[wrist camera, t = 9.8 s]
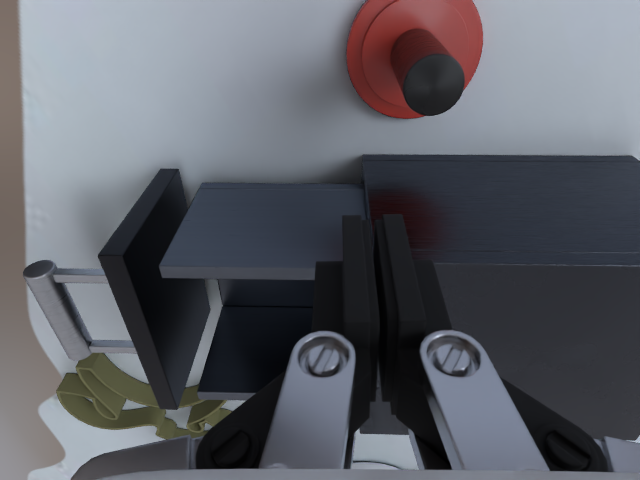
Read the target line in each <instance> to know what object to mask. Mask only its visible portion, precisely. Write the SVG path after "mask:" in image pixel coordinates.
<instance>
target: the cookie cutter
mask: <svg viewBox="0 0 640 480" xmlns="http://www.w3.org/2000/svg"><path fill="white" fill-rule="evenodd" d="M76 371H77V373H78V374H73V373H67V374H66V376H65V377H64V379H63V381H62V382H61V384H60V385H59V387H58V389H57V391H56V393H57V396H58V399H59V401H60V403H61V404H62V406H63V407H64V408H65V409H66V410H67V411H68V412H69V413H70V414H71V415H72V416H74V417H75V418H77V419H78V420H80V421H82V422H84V423H86V424H88V425H91V426H94V427H98V428H102V429H110V430H120V429H129V428H135V427H141V426H155V427H157V431H156V435H157V436H158V437H161V438H164V439H166V440H167V439H171V438H176V437H180V436H185V435H189V434H190V436H191V438H196V437H201V436H204V435H205V434H206V433H207V432H208V431H203V430H204V427H205V423H208V424H210V425H211V426H215V425H216V424H217V423H218V422H220V421H221V420H222V419H224V418H225V417H226V416H227V415H229V414H230V413H231V412H232V411H229V410H226V409H221V408H220V407H222V406H223V405H224V404H225V403H226V401H227V400H206V401H204V400H205V399H199V398H198V394H197V390H198V387H199V385H197V386H193V387H189V388H185V389H184V392H183V395H182V398H181V401H180V404H179V407H178V408H182V407H188V406H192V405H193V406H192V409H191V412H190V416H189V419H188V422H187V426H186V427H187V429H188V430H186V429H180V428H176V427H177V424H176V423H175V422H174V421H173V420H170V419H168V418H165V414H166V410H165V409H160V408H159V406H158V403H157V401H156V399H155V396H154V394H153V391H152V389H151V386H150V385H148V384H145V383H143V382H140V381H138V380H136V379H134V378H132V377H130V376H129V375H127V374H125V373H124V372H122V371H121V370H120V369H118V368H117V367H116V366H115V365H114V364H113V363H112V362H111V361H110V360H109V359H108V358H107V357H106V356H105V355H104V353H92V354H91V355H90V356H88V357H87V358H85V359H82V360H79V362H78V364H77V365H76ZM84 397H86V398H89V399H92V401H93V403H92V402H90V401H88V400H87V399H86V398H84ZM126 399H128V400H131V401H133V402H136V403H139V404H142V405H146V406H151V407H145V408H140V409H134V410H122V408H123V406H124V404H125V401H126ZM202 401H204V402H202ZM200 402H202V403H200ZM198 403H199V404H198ZM195 404H196V405H195Z"/></svg>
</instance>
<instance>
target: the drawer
mask: <svg viewBox="0 0 640 480" xmlns="http://www.w3.org/2000/svg"><path fill="white" fill-rule="evenodd" d="M342 215H361V218H362V220H368V218H367V209H366V200H365V190H364V184H279V183H202V184H201V186H200V188H199V190H198V192H197V194H196V196H195V197H194V199H193V201H192V203H191V205H190V207H189V209H188V208H187V203H186V199H185V194H184V190H183V185H182V181H181V177H180V172H179V169H160V170H159V172H158V173H157V174H156V176H155V177H154V179H153V180H152V181H151V183H150V184H149V185H148V187H147V188H146V190H145V191H144V192H143V194H142V195H141V196H140V198H139V199H138V201H137V202H136V203H135V205H134V206H133V207H132V209H131V210H130V212H129V213H128V214H127V216H126V217H125V219H124V220H123V221H122V223H121V224H120V225H119V227H118V228H117V230H116V231H115V232H114V234H113V235H112V236H111V238H110V239H109V241H108V242H107V243H106V245H105V246H104V248H103V249H102V250H101V252H100V253H99V254H98V258H99V261H100V263H101V266H102V268H103V269H62V268H58V269H57V266H56V264H55V263H54V262H53V261H51V260H41V261H37V262H35V263H32V264H31V265H29V266H28V267H26V268H25V270H24V271H23V277H24V278H25V280H26V282H27V284H28V286H29V287H30V289H31V291H32V293H33V295H34V296H35V298H36V300H37V302H38V304H39V305H40V307H41V309H42V311H43V312H44V314H45V316H46V318H47V320H48V321H49V323H50V325H51V327H52V329H53V330H54V332H55V334H56V336H57V338H58V339H59V341H60V343H61V345H62V346H63V348H64V350H65V352H66V354H67V355H68V357H69V358H70V359H71V360H75V361H78V360H82V359H85V358H87V357H88V356H90V355H91V354H92V353H137V354H138V357H139V359H140V362H141V364H142V367H143V369H144V371H145V374H146V376H147V379H148V381H149V384H150V386H151V389H152V391H153V394H154V396H155V399H156V401H157V403H158V406H159V408H160V409H168V410H177V409H178V407H179V404H180V401H181V398H182V395H183V392H184V389H185V386H186V383H187V380H188V377H189V374H190V371H191V368H192V365H193V362H194V359H195V355H196V352H197V349H198V346H199V343H200V340H201V337H202V334H203V331H204V328H205V325H206V322H207V319H208V316H209V313H210V310H211V309H210V305H209V300H208V296H207V291H206V287H205V283H204V279H217V280H218V285H219V290H220V295H221V300H222V305H223V307H222V310H221V313H220V317H219V320H218V323H217V327H216V330H215V333H214V337H213V340H212V343H211V347H210V350H209V353H208V357H207V360H206V363H205V367H204V370H203V373H202V377H201V380H200V383H199V387H198V390H197V394H198V398H199V399H205V400H248V399H249V398H251V397H252V396H253V395H254V394H256V393H257V392H258V391H260V390H261V389H262V388H263V387H265V386H266V385H267V384H269V383H270V382H271V381H272V380H274V379H275V378H276V377H278V376H279V375H280V374H281V373H283V372H284V371H285V370H287V366H288V363H289V360H290V356H291V353H292V350H293V348H294V346H295V344H296V343H297V342H298V341H299V340H300V339H301V338H303V337H304V336H306V335H308V334H310V333H311V332H312V315H313V298H314V282H315V266H316V261H343V237H342ZM65 283H109V285H110V288H111V290H112V293H113V295H114V298H115V300H116V302H117V305H118V307H119V310H120V312H121V315H122V317H123V320H124V322H125V325H126V327H127V330H128V332H129V334H130V337H131V339H132V341H120V340H92V338H91V336H90V334H89V332H88V330H87V328H86V326H85V324H84V322H83V320H82V318H81V316H80V314H79V312H78V309H77V307H76V305H75V303H74V301H73V299H72V297H71V295H70V293H69V291H68V289H67V287H66V285H65Z"/></svg>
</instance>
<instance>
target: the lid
mask: <svg viewBox="0 0 640 480" xmlns="http://www.w3.org/2000/svg"><path fill="white" fill-rule="evenodd" d="M482 45H483V31H482V24H481V20H480V16H479V13H478V11H477V9H476V6H475V5H474V3H473V1H472V0H367V1H366V2H365V3H364V4H363V6H362V7H361V9H360V10H359V12H358V13H357V15H356V17H355V19H354V21H353V23H352V26H351V29H350V32H349V36H348V41H347V50H346V55H347V67H348V72H349V76H350V79H351V81H352V84H353V86H354V88H355V90H356V91H357V93H358V94H359V96H360V97H361V98H362V99H363V101H365V102H366V103H367V104H368V105H369V106H370V107H372V108H373V109H374V110H376V111H378V112H380V113H382V114H384V115H387V116H390V117H395V118H403V119H410V118H418V117H423V116H433V115H438V114H441V113H443V112H445V111H447V110H449V109H450V108H451V107H452V106H454V105H455V103H456V102H457V101H458V100H459V98H460V96H461V94H462V92H463V90H464V89H465V88H466V86H467V85H468V83H469V82H470V81H471V79H472V77H473V75H474V73H475V71H476V69H477V66H478V64H479V60H480V57H481V52H482Z"/></svg>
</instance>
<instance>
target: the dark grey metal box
mask: <svg viewBox="0 0 640 480" xmlns="http://www.w3.org/2000/svg"><path fill="white" fill-rule="evenodd" d="M361 184H364V190H365V200H366V209H367V218H368V220H369V225H370V234H371V243H372V252H373V248H374V222H375V220H381V219H382V214H402V215H403V219H404V224H405V228H406V232H407V237H408V241H409V245H410V250H411V254H412V259H413V260H421V259H431V260H432V261H433V263H434V266H435V270H436V273H437V277H438V280H439V284H440V287H441V291H442V294H443V298H444V301H445V305H446V308H447V311H448V315H449V318H450V322H451V325H452V329H453V330H454V331H459V332H462V333H465V334H467V335H469V336H471V337H472V338H474V339H475V340H476V341H477V342H479V343H480V344H481V346H482V347H483V348H484V350H485V351H486V353H487V355H488V357H489V359H490V361H491V362H492V364H493V366H494V368H495V370H496V372H497V373H498V375H499V376H500V377H501V378H503V379H505V380H506V381H508V382H509V383H511V384H512V385H514V386H515V387H517V388H519V389H520V390H522V391H523V392H525V393H526V394H528V395H530V396H531V397H533V398H534V399H536V400H537V401H539V402H540V403H542V404H544V405H545V406H547V407H548V408H550V409H551V410H553V411H555V412H556V413H558V414H559V415H561V416H562V417H564V418H566V419H567V420H569V421H570V422H572V423H573V424H575V425H576V426H578V427H580V428H581V429H582V430H584V431H585V432H586V433H587V434H589V435H590V436H591V437H592V438H593V439H597V440H602V439H603V437H604V436H607V437H611V438H616V439H621V440H636V439H637V438H638V437H639V435H640V161H638V160H637V159H636V158H635V157H633V156H519V155H363V157H362V175H361ZM408 429H409V428H408V427H407V426H405V425H404V424H403V423H402V422H400V421H399V420H398V419H397V418H396V415H391V407H390V402H382V396H381V385H380V375H379V365H378V372H377V390H376V402H370V418H369V419H368V420H367V421H366V422H365V423H364V424H363V425H362V426H361V427H360V433H361V434H395V435H409V431H408Z"/></svg>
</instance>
